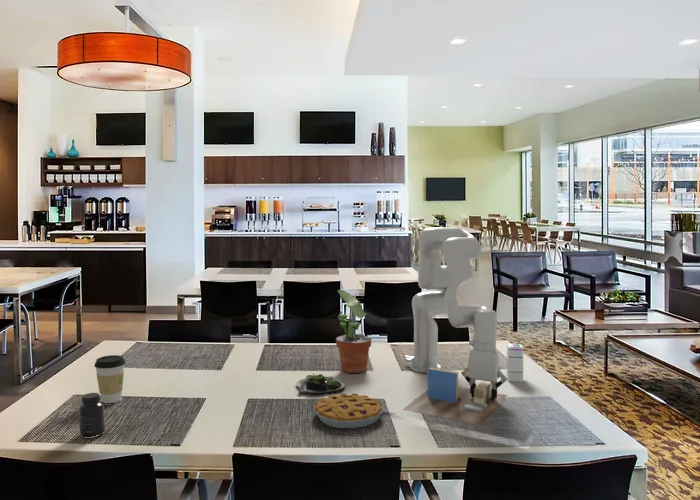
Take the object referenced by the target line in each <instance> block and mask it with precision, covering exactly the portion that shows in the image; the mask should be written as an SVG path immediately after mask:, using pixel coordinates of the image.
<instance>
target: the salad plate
mask: <svg viewBox="0 0 700 500" xmlns="http://www.w3.org/2000/svg"><path fill="white" fill-rule="evenodd" d="M325 381H327V382H325ZM296 386H297V388H298V392H301V393H303V394H304V393H305V395H308V394H309V395H308V396H324V394H327V395H333V394H332V393H334V394H339V393H340V392H343V390H344V389H345V387H346V384H344V383H343V381H341V380H340V379H338V378H337V377H335V376H324V375H323V374H322V373H321V374H320V373H319V374H314V373H312V374H307V375H306V376H305V378H302V379H299V380H298V381H296Z"/></svg>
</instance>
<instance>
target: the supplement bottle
mask: <svg viewBox="0 0 700 500" xmlns="http://www.w3.org/2000/svg"><path fill="white" fill-rule="evenodd" d="M104 405H105V404H103V403H102V401H101V395H100V393H99V392H88V393H86V394H85V393H84V394H83V395H81V405H80V406H79V407H78V423H79V426H78V427H79V436H80V435H81V436H83V437H92V436H96V435H100V434H102V433H103V432H104V431H105V432H106V418H105V406H104ZM81 436H80V437H81Z"/></svg>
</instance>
